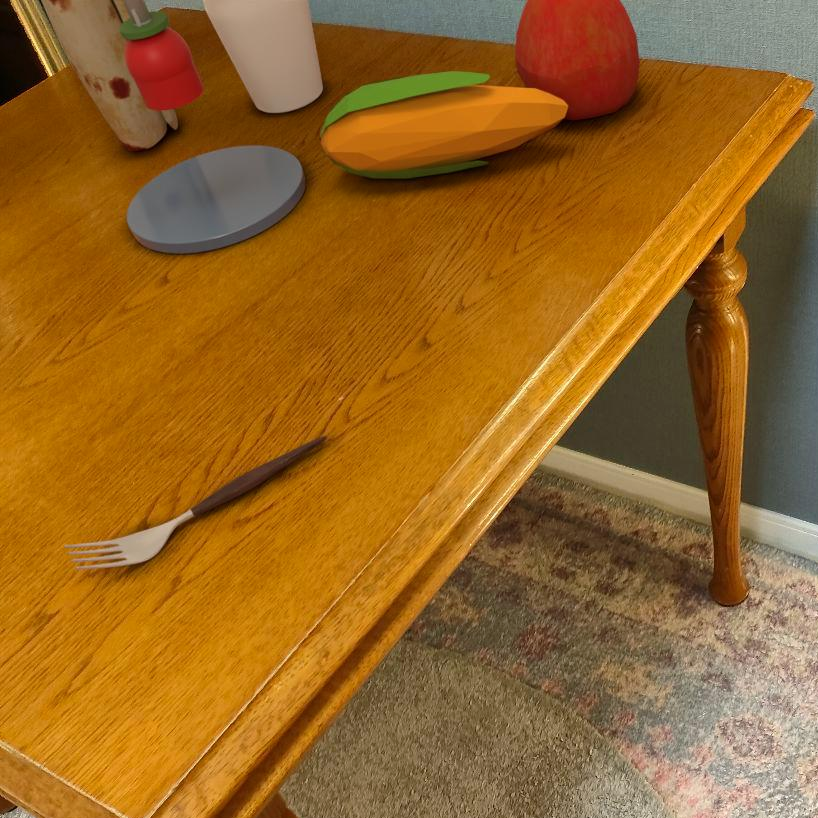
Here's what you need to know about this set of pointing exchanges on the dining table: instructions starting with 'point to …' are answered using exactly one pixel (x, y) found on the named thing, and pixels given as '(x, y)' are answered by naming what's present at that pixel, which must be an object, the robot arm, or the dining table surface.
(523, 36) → the apple
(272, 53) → the cup
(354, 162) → the corn
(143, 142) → the food model
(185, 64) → the strawberry fork
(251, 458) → the dining table surface
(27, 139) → the dining table surface
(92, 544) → the fork
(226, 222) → the plate
